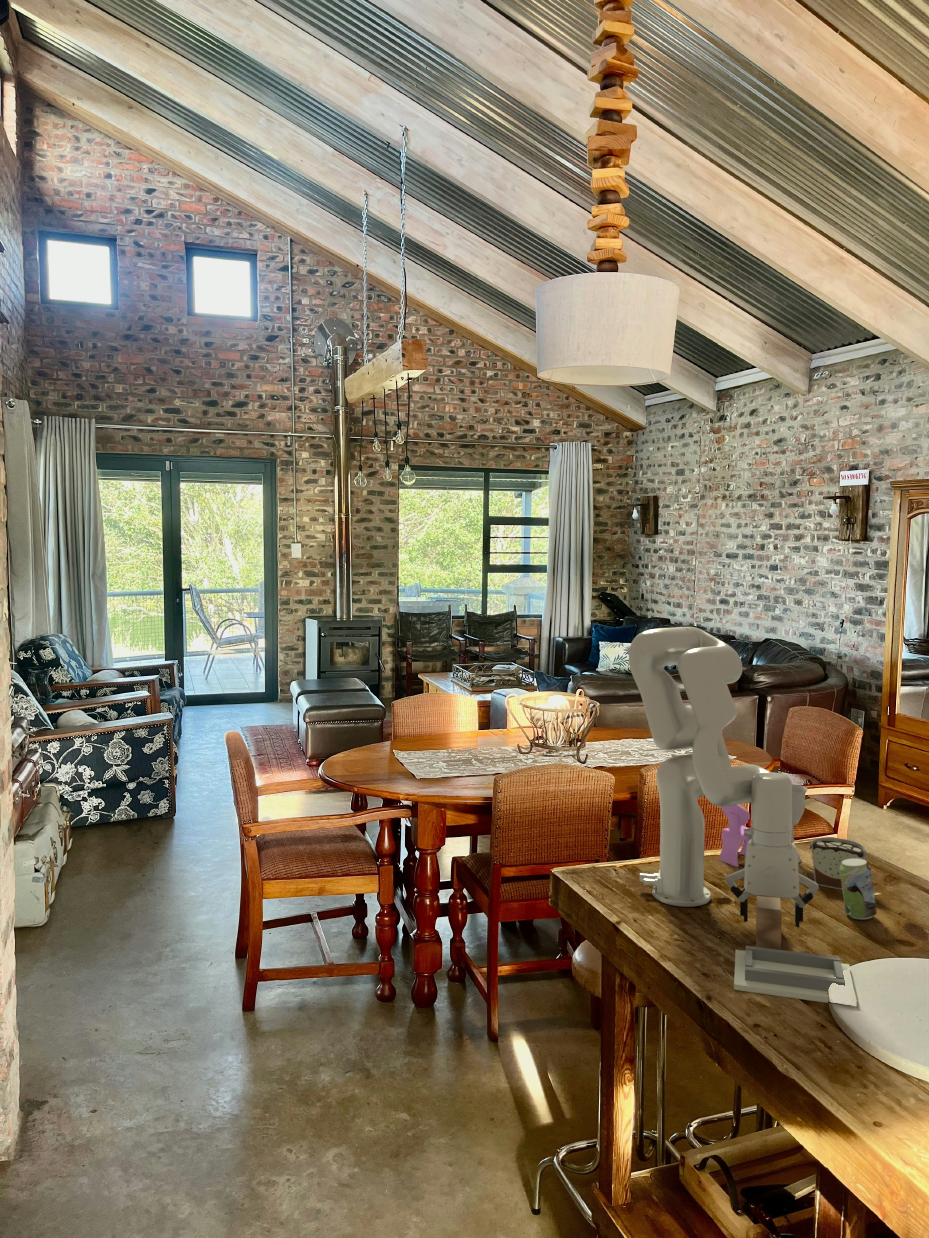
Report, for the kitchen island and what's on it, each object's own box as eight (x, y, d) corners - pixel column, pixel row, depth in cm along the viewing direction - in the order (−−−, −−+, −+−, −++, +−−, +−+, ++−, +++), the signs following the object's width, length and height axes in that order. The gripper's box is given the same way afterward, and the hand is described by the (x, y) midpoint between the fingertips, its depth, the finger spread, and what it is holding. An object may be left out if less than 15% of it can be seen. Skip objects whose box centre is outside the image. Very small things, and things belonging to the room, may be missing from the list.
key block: (756, 950, 174) (756, 915, 173) (755, 927, 184) (756, 893, 184) (780, 953, 173) (781, 918, 172) (779, 929, 183) (780, 896, 182)
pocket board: (733, 989, 158) (734, 973, 158) (735, 954, 172) (735, 939, 171) (857, 1006, 152) (857, 989, 152) (848, 969, 166) (849, 953, 165)
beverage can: (879, 923, 185) (881, 867, 184) (841, 920, 187) (843, 864, 186) (872, 911, 191) (874, 856, 190) (835, 908, 193) (837, 854, 192)
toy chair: (765, 861, 222) (766, 801, 221) (741, 868, 217) (742, 807, 216) (738, 851, 229) (739, 793, 228) (714, 858, 224) (715, 799, 223)
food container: (870, 885, 206) (871, 842, 205) (865, 894, 201) (867, 850, 200) (813, 874, 213) (814, 833, 212) (808, 883, 208) (809, 840, 207)
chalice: (790, 865, 218) (792, 793, 217) (769, 857, 224) (771, 786, 223) (811, 860, 222) (814, 789, 220) (790, 852, 228) (792, 782, 226)
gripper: (724, 838, 176) (724, 924, 177) (820, 845, 170) (819, 934, 171) (726, 828, 183) (726, 910, 184) (817, 834, 177) (816, 919, 178)
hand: (771, 921), depth 177 cm, fingers open, 9 cm apart
